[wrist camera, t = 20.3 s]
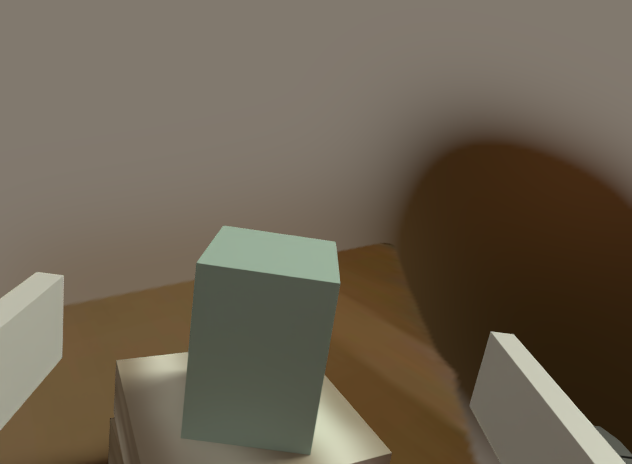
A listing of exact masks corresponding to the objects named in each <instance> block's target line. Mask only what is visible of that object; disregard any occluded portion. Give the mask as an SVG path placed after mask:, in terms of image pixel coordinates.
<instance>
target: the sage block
mask: <svg viewBox="0 0 632 464" xmlns="http://www.w3.org/2000/svg"><path fill="white" fill-rule="evenodd" d="M339 288H340V276H339V267H338V258H337V249H336V242H333V241H326V240H319V239H312V238H306V237H299V236H292V235H285V234H278V233H271V232H264V231H257V230H251V229H244V228H237V227H230V226H223V227H222V228H221V230H220V231H219V232H218V234H217V235H216V237H215V238H214V239H213V241H212V242H211V244H210V245H209V246H208V248H207V249H206V250H205V252H204V253H203V255H202V256H201V257H200V259H199V260H198V261H197V263H196V274H195V284H194V296H193V307H192V318H191V329H190V340H189V351H188V362H187V374H186V385H185V396H184V407H183V418H182V429H181V438H184V439H191V440H199V441H207V442H214V443H222V444H230V445H237V446H245V447H253V448H260V449H268V450H275V451H283V452H291V453H298V454H306V455H310V454H311V448H312V443H313V437H314V431H315V426H316V420H317V414H318V408H319V403H320V397H321V391H322V385H323V380H324V374H325V368H326V362H327V357H328V351H329V345H330V340H331V334H332V328H333V322H334V317H335V311H336V305H337V299H338V294H339Z"/></svg>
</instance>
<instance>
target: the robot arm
mask: <svg viewBox="0 0 632 464" xmlns="http://www.w3.org/2000/svg"><path fill="white" fill-rule="evenodd" d="M63 288H64V276H63V275H56V274H49V273H41V272H36V273H35V274H34V275H32V276H31V277H29V278H28V279H27V280H25V281H24V282H23V283H21V284H20V285H18V286H17V287H16V288H14V289H13V290H12V291H10V292H9V293H7V294H6V295H5V296H3V297H2V298H1V299H0V430H1V429H2V428H3V426H4V425H5V424H6V423H7V422H8V421H9V419H10V418H11V417H12V416H13V415H14V414H15V412H16V411H17V410H18V409H19V408H20V407H21V405H22V404H23V403H24V402H25V401H26V400H27V398H28V397H29V396H30V395H31V394H32V392H33V391H34V390H35V389H36V388H37V387H38V385H39V384H40V383H41V382H42V381H43V380H44V378H45V377H46V376H47V375H48V374H49V373H50V371H51V370H52V369H53V368H54V367H55V365H56V364H57V363H58V362H59V361H60V360H61V358H62V340H63V293H64V292H63V291H64V289H63ZM470 408H471V409H472V412H473V413H474V415H475V417H476V419H477V421H478V423H479V425H480V426H481V428H482V430H483V432H484V434H485V436H486V437H487V439H488V441H489V443H490V445H491V447H492V449H493V451H494V452H495V454H496V456H497V458H498V460H499V461H500V464H632V454H631V453H630V452H629V451H628V450H627V449H626V448H625V446H624V445H623V444H622V443H621V442H620V441H619V440H617V439H616V438H615V437H613V436H612V435H610V434H609V433H608V432H606V431H605V430H604V429H602V428H601V427H598V426H593V425H592V424H591V423H590V422H589V420H588V419H587V418H586V417H585V416H584V415H583V414H582V413H581V411H580V410H579V409H578V408H577V407H576V406H575V405H574V403H573V402H572V401H571V400H570V399H569V397H568V396H567V395H566V394H565V393H564V392H563V391H562V389H561V388H560V387H559V386H558V385H557V384H556V383H555V382H554V380H553V379H552V378H551V377H550V376H549V375H548V373H547V372H546V371H545V370H544V369H543V368H542V366H541V365H540V364H539V363H538V362H537V361H536V360H535V358H534V357H533V356H532V355H531V354H530V353H529V351H528V350H527V349H526V348H525V347H524V346H523V345H522V343H521V342H520V341H519V340H518V339H517V338H516V337H515V335H513V334H505V333H497V332H491V333H490V336H489V340H488V343H487V346H486V350H485V353H484V357H483V360H482V364H481V367H480V371H479V374H478V378H477V381H476V385H475V388H474V392H473V395H472V398H471V402H470Z"/></svg>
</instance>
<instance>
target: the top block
mask: <svg viewBox="0 0 632 464" xmlns="http://www.w3.org/2000/svg"><path fill="white" fill-rule="evenodd" d="M187 362H188V352H186V353H177V354H168V355H159V356H151V357H142V358H133V359H124V360H116V378H115V398H114V416H115V421H116V426H117V432H118V437H119V442H120V447H121V452H122V457H123V462H124V464H389V463H390V459H391V455H392V452H391V451H390V450H389V449H388V448H387V447H386V445H385V444H384V443H383V442H382V441H381V440H380V438H379V437H378V436H377V435H376V434H375V433H374V432H373V430H372V429H371V428H370V427H369V426H368V425H367V423H366V422H365V421H364V420H363V419H362V418H361V416H360V415H359V414H358V413H357V412H356V411H355V410H354V408H353V407H352V406H351V405H350V404H349V403H348V401H347V400H346V399H345V398H344V397H343V396H342V395H341V393H340V392H339V391H338V390H337V389H336V388H335V386H334V385H333V384H332V383H331V382H330V381H329V379H328V378H327V377H326V376H325V375H324V380H323V385H322V391H321V397H320V403H319V408H318V414H317V420H316V426H315V431H314V437H313V443H312V448H311V454H310V455H306V454H298V453H291V452H283V451H275V450H268V449H260V448H253V447H245V446H237V445H230V444H222V443H214V442H207V441H199V440H191V439H184V438H181V429H182V418H183V407H184V396H185V385H186V374H187Z"/></svg>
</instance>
